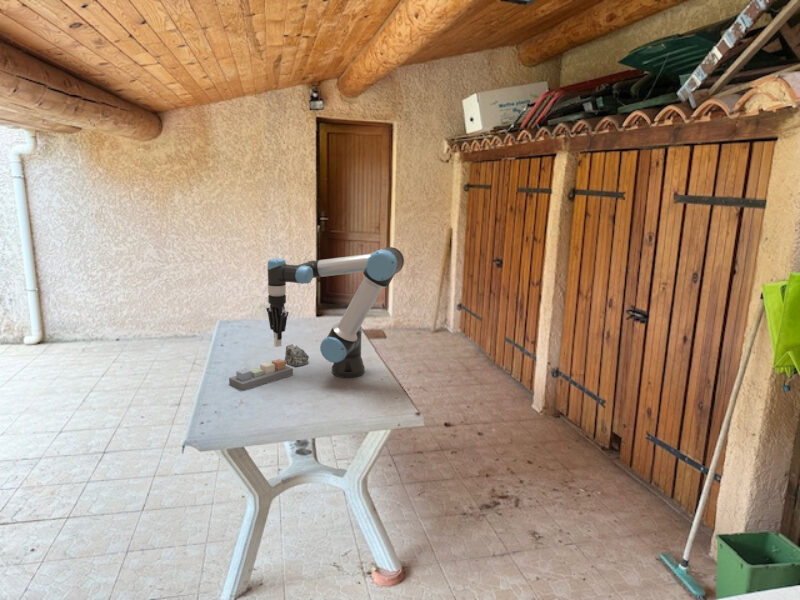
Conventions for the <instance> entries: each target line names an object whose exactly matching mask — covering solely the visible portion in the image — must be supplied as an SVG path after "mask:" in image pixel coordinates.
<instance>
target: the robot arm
mask: <svg viewBox="0 0 800 600" xmlns="http://www.w3.org/2000/svg"><path fill="white" fill-rule="evenodd" d="M404 257H405V256H404V255H403V253H402V252H401V250H399V249H398V248H396V247H392V246H389V247H385V248H382V249H377V250H373V251H372V252H371V253H365V254H357V255H349V256H348V255H347V256H343V257H341V256H340V257H334V258H327V259H326V258H325V259H319V260H308V261H307V262H303V263H300V264H287V263H286V260H285V259H284V258H270V259H269V260H268V261H267V282H268V283H267V294H268V296H267V299H268V304H269V307H266V309H265V310H266V312H267V317H268V322H269V328H270V330H272V332H273V339H274V347H275V348H278V347H282V339H283V333H284V332H286V327H287V320H288V316H289V314H290V313H289V311H286V310H285V309H286V308H285V304H286V303H287V295H286V294H287V290H286V287H287V283H294V284H301V285H303V284H307V285H308V284H310V283H312V281H313V279H315V278H322V277H330V276H338V275H341V276H342V275H347V274H348V275H349V274H357V273H362V274H363V279H362V281H361V283H360V285H359V287H358V288H357V290H356V292H355V294H354V296H353V297H352V299H351V301H350V303H349V304H348V306H347V308H346V310H345V312H344V313H343V315H342V317H341V319H340V321H339V323H338V322H337V323H336V324H333V326H332V328H331V329H330V331H329V333H328V335H327V336H326V337H325V338H324V339H322V341H321V343H320V346H319V350H320V353H321V356H322V357H323V358H324V359H325V360H326V361H328V362H330V363H333V364H332V366H331V373H332V375H334V376H336V377H338V378H339V377H340V378H347V379H348V378H357V377H360V376H362V375H364V374H365V371H366V369H365V365H364V361H363V358H362V333H363V332H362V324H363V323H364V321H365V319H366V317H367V316H368V314H369V312H370V311H371V309H372V307H373V305H375V302H376V300H377V298H378V297H379V295H380V294H381V291H382V290H383V289H385V288H388V287H389V285H390V284H391V282H392V280H393V278H394V276H395V275H397V274H398V273H399V272H401V271H402V270H403V267H404V265H405V258H404Z"/></svg>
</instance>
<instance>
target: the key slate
mask: <svg viewBox="0 0 800 600" xmlns="http://www.w3.org/2000/svg"><path fill="white" fill-rule="evenodd" d="M250 370H251V369H247V368H243V369H239V370H236V371H235V372H236V373H235V374H236V375H235V376H236V379H238V380H240V381H242V382H243V381H246V380H249V379H251V371H250Z"/></svg>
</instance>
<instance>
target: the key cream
mask: <svg viewBox="0 0 800 600" xmlns="http://www.w3.org/2000/svg"><path fill="white" fill-rule="evenodd" d="M259 365H260V366H259V367H260V368H259V369H261V370H263V373H265V374H269V373H272V372H275V364H273V363H272V362H270V361H267V362H263V363H260V364H259Z"/></svg>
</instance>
